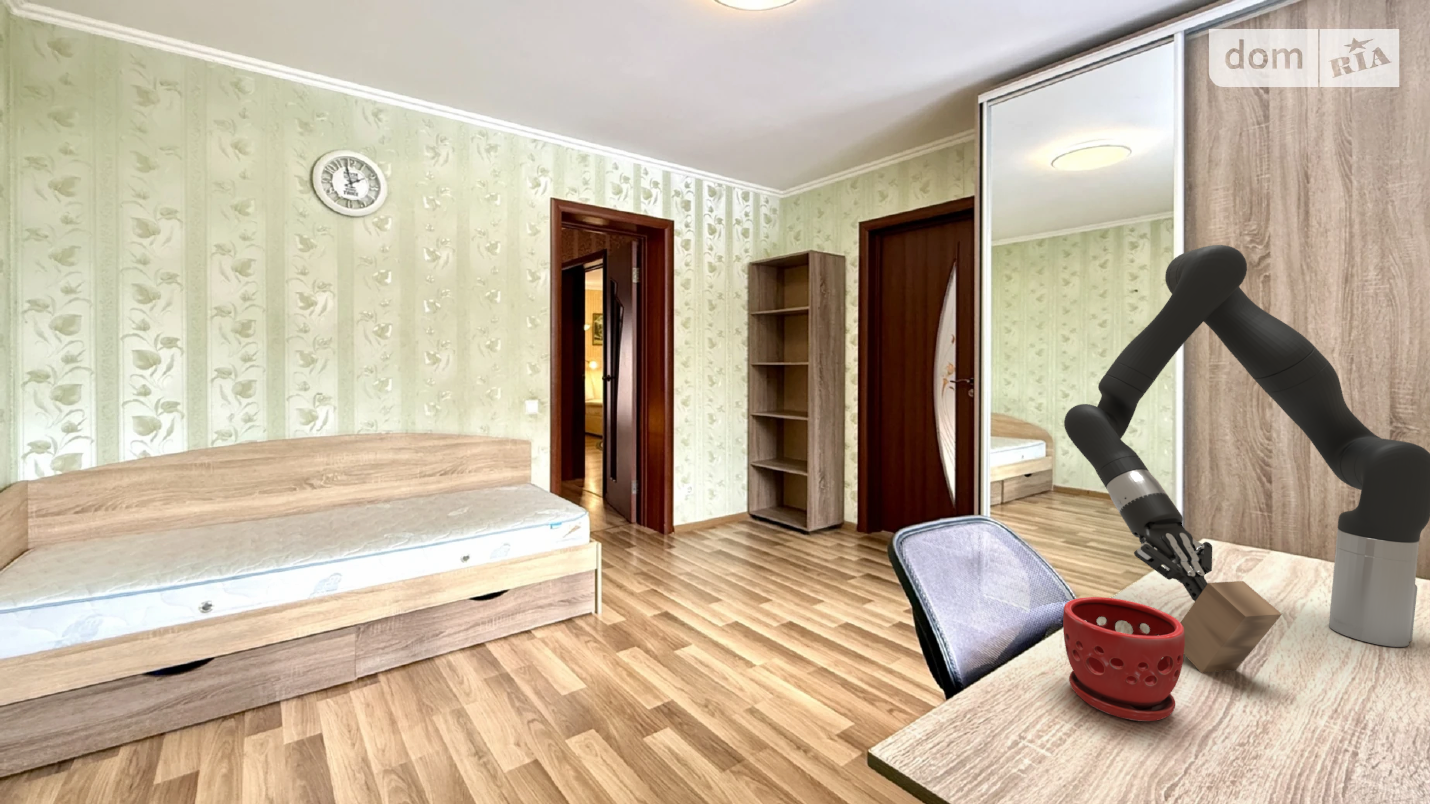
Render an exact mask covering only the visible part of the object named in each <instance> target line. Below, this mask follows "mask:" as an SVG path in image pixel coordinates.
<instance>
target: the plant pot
mask: <svg viewBox="0 0 1430 804" xmlns="http://www.w3.org/2000/svg"><path fill="white" fill-rule="evenodd" d="M1062 618H1063V622H1062V624H1063V625H1062V626H1063V628H1062V629H1063V638H1064V646H1065V651H1066V652H1065V653H1066V656H1067V659H1068V662H1069V665H1070V667H1071V669H1072V671H1071V672H1070V673H1069V675H1068V681H1069V684H1070V686H1071V688H1072V690H1073V691H1074V693H1076V695H1078V697H1079V698H1080V699H1082V700H1083V701H1084V702H1085V703H1087V704H1088V705H1089V706H1091V707H1093V708H1095V710H1096V709H1097V710H1099V711H1100V712H1103V713H1106V714H1108V715H1110V716H1111V715H1112V716H1114V717H1117V718H1120V719H1121V718H1122V719H1126V720H1131V721H1132V722H1155V721H1159V720H1162V719H1166V718H1167V717H1169V716H1171V714H1173V712H1174V710H1175V708H1176V699H1175V698H1174V696H1173V695H1172V692H1173V690H1174V689H1175V687H1176V685H1177V683H1178V681H1179V679H1180V676H1181V672H1182V667H1183V663H1184V647H1185V634H1184V627H1183V626H1182V624H1181V623H1180V622H1181V621H1180V620H1178V619H1177V618H1175V617H1174V616H1172V615H1171V614H1168V613H1166V612H1164V611H1162V610H1159V609H1157V608H1155V607H1152V606H1149V605H1146V604H1142V603H1139V602H1135V601H1130V600H1125V599H1120V598H1112V597H1104V596H1103V597H1101V596H1089V597H1088V596H1087V597H1086V596H1085V597H1079V598H1075V599H1071V600H1069V601H1068V602H1066V603H1065V604H1064V606H1063V617H1062ZM1099 618H1103V619H1105V621H1106V622H1105V623H1104V624H1099V623H1098V619H1099ZM1121 621H1122V622H1126V623H1128V624H1129V626H1131V628H1132V633H1126V632H1125V633H1124V632H1120V631H1118V630H1117V629H1116V625H1117V623H1118V622H1121ZM1142 624H1145V625H1146V626H1148V628H1149V632H1148V633H1147V632H1144V631H1143V630H1142V628H1141V625H1142Z"/></svg>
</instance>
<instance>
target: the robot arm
mask: <svg viewBox="0 0 1430 804" xmlns="http://www.w3.org/2000/svg"><path fill="white" fill-rule="evenodd" d="M1165 270H1166V271H1165V276H1164V278H1165V284H1166V286H1167V289H1168V291H1169V292H1170V293H1171V295H1170V297H1169V298H1168V300H1167V301H1166V303H1165V304H1164V306H1163V307H1162V308H1161V310H1160V311H1159V312H1158V314H1157V315H1156V316H1155V317H1154V318H1153V319H1152V321H1150V322H1149V324H1148V325H1146V327H1144V328H1143V329H1142V331H1140V332H1139V333H1138V334H1137V335H1136V336H1135V337H1134V338H1133V339H1132V340H1131V341H1130V342H1129V343H1128V344H1127V346H1125V347H1124V348H1123V350H1122V351H1121V352H1120V353H1119V355H1118V356H1117V357H1116V358H1115V360H1114V361H1113V362H1112V364H1111V366H1110V367H1109V368H1108V369H1107V371H1106V373H1104V375H1103V377H1102V378H1101V380H1100V381H1099V383H1098V384H1097V385H1098V386H1097V387H1098V390H1099V393H1100V395H1101V398H1100V400H1099V402H1098V403H1097V405H1093V404H1088V403H1082V404H1077V405H1074V406H1073V407H1071V408H1070V409H1069V410H1068V411H1067V412H1066V414H1065V416H1064V419H1063V422H1064V424H1063V425H1064V430H1065V432H1066V435H1067V436H1068V438H1069V439H1070V441H1071V442H1072V443H1073V444H1074V446H1075V447H1076V448H1077V449H1078V451H1079V452H1080V454H1082V455H1083V457H1084V458H1085V459H1086V460H1087V461H1088V462H1089V463H1090V465H1091V466H1092V467H1093V468H1094V470H1095V472H1096V474H1097V475H1098V478H1099V479H1100V481H1101V482H1102V484H1103V485H1104V487H1105V489H1106V491H1107V492H1108V496H1109V497H1110V499H1111V501H1112V503H1113V505H1114V506H1115V508H1116V510H1117V511H1118V513H1119V514H1120V517H1122V519H1123V521H1124V522H1125V524H1126V526H1127V527H1128V528H1129V530H1130V532H1131V534H1132V536H1134V537H1136V538H1138V540H1139V543H1140V544H1141V545H1140V546H1139V548H1137V549H1136V550H1135V551H1133V554H1134V556H1135V557H1136V558H1137V559H1138V560H1140V561H1142V562H1143V563H1144V564H1146V565H1147V566H1149V567H1150V568H1151V569H1153V570H1154V571H1156V572H1157V573H1158V574H1160V575H1161V576H1162V577H1164V578H1165V579H1167V580H1169V581H1170V580H1172V579H1173V580H1176V581H1177V582H1179V583H1180V584H1182V586H1183V587H1184V588H1185V590H1186V592H1187V593H1188V594H1189V596H1190V598H1191V599H1192V600H1193V601H1194V602H1195V601H1196V600H1197V598H1198V597H1199V595H1200V594H1201V593H1202V591H1203V590H1204V588H1205V587H1206V586H1207V584H1208V583H1209V582H1208V581H1207V580H1206V579H1205V575H1207V574H1209V573H1211V572H1212V571H1213V545H1212V544H1211V542H1208V541H1204V542H1203V543H1201V542H1199V541H1197V540H1196V539H1193V538H1194V536H1193V535H1192V534H1191V533H1190V532H1189V531H1188V530H1186V528H1184V526H1183V520H1184V518H1183V515H1182V514H1181V512H1180V510H1179V509H1178V508H1177V506H1176V505H1175V504H1174V502H1173V501H1172V499H1171V497H1169V495H1168V494H1167V492H1166V490H1165V489H1164V488H1163V486H1162V485H1161V484H1160V482H1159V481H1158V480H1157V478H1156V477H1155V476H1154V475H1153V474H1152V473H1151V472H1150V470H1149V469H1148V467H1147V465H1145V463H1144V461H1143V460H1142V459H1141V457H1140V456H1139V455H1138V454H1137V452H1136V451H1135V450H1134V449H1133V448H1131V447H1130V446H1129V445H1127V444H1126V443H1125V442H1124V441H1123V440H1122V438H1123V437H1124V435H1125V433H1126V432H1127V429H1128V428H1129V425H1130V423H1131V422H1132V419H1133V417H1134V414H1135V412H1136V409H1137V407H1138V404H1139V401H1140V400H1141V399H1142V398H1143V397H1144V396H1145V394H1146V392H1148V391H1149V389H1150V388H1151V386H1152V384H1153V383H1155V381H1156V380H1157V378H1158V377H1159V375H1160V374H1161V373H1162V372H1163V370H1164V368H1166V367H1167V365H1168V363H1169V362H1170V361H1171V359H1172V358H1173V357H1174V355H1176V353H1177V352H1178V351H1179V350H1180V348H1181V347H1182V346H1183V345H1184V343H1186V341H1187V340H1188V339H1189V338H1190V337H1191V336H1192V335H1193V333H1195V331H1196V330H1197V329H1198V328H1199V327H1200V326H1201V325H1202V324H1203V323H1204V324H1206V326H1207V327H1208V328H1210V330H1211V331H1213V333H1214V334H1215V336H1217V337H1218V338H1219V340H1220V341H1221V342H1222V343H1223V345H1224V346H1225V347H1226V349H1227V350H1228V352H1230V353H1231V354H1232V355H1233V357H1234V358H1235V359H1236V360H1237V361H1238V362H1239V363H1240V364H1241V366H1242V367H1243V368H1244V369H1245V370H1246V372H1247V373H1248V374H1249V375H1250V377H1251V378H1252V379H1254V381H1255V382H1256V383H1257V384H1258V385H1259V387H1260V388H1261V389H1262V390H1263V391H1264V392H1265V393H1266V394H1267V395H1268V396H1269V398H1271V399H1272V400H1273V401H1274V402H1275V403H1276V404H1277V405H1278V407H1280V408H1281V409H1282V411H1283V412H1284V413H1285V414H1286V415H1287V416H1288V417H1289V418H1290V419H1291V421H1293V422H1294V424H1296V425H1297V426H1298V428H1300V430H1302V432H1303V433H1304V434H1305V435H1306V436H1307V438H1308V439H1309V440H1310V441H1311V444H1313V446H1314V448H1315V449H1316V450H1317V451H1318V453H1319V454H1320V456H1321V458H1323V460H1324V461H1325V463H1326V464H1327V466H1328V467H1329V469H1330V470H1331V472H1332V473H1333V474H1334V475H1335V476H1336V477H1337V478H1338V479H1339V480H1340V481H1342V482H1343V483H1345V484H1346V485H1347V486H1348V487H1349V486H1350V487H1352V488H1354V489H1357V490H1360V496H1359V501H1358V505H1357V506H1356V507H1355V508H1354V509H1352V510H1346V511H1344V512H1341V513H1340V514H1339V516H1338V519H1337V530H1336V531H1337V532H1336V541H1335V555H1334V565H1333V575H1332V585H1331V597H1330V598H1331V599H1330V608H1329V615H1328V616H1329V617H1328V627H1329V628H1330V629H1332V630H1333V631H1335V632H1337V633H1338V634H1341V635H1344V636H1346V637H1348V638H1352V639H1354V640H1358V641H1362V642H1365V643H1369V644H1374V645H1377V646H1385V647H1397V648H1404V647H1408V646H1409V645H1410V642H1412V641H1413V633H1414V627H1415V623H1414V622H1415V615H1416V613H1415V612H1416V608H1417V607H1416V606H1417V595H1418V586H1417V584H1416V581H1417V580H1416V579H1417V578H1416V577H1417V569H1418V556H1419V545H1420V539H1421V533H1422V532H1423V530H1424V529H1425V528H1426V526H1427V525H1428V523H1429V521H1430V452H1429V451H1428V450H1427V449H1426V448H1425V447H1422V446H1421V445H1419V444H1415V443H1412V442H1407V441H1403V440H1397V439H1389V438H1382V437H1380V436H1378V435H1377V434H1375V433H1374V432H1372V431H1371V430H1370V429H1369V428H1368V427H1367V426H1366V425H1365V424H1364V423H1362V422H1361V420H1359V418H1358V417H1357V416H1355V414H1353V412H1352V411H1351V410H1350V408H1349V407H1348V405H1347V403H1346V401H1345V399H1344V394H1343V391H1342V389H1343V388H1342V385H1341V381H1340V379H1339V376H1338V373H1337V371H1336V369H1335V368H1334V366H1333V365H1332V364H1331V363H1330V361H1329V360H1328V359H1327V358H1326V357H1325V356H1324V354H1322V353H1321V351H1319V350H1318V349H1317V347H1316V346H1315V345H1314V344H1313V343H1312V342H1311V341H1310V340H1309V339H1308V338H1307V337H1305V336H1304V335H1303V334H1302V333H1300V332H1299V331H1297V330H1296V329H1294V328H1293V327H1292V326H1290V325H1288V324H1287V323H1286V322H1284V321H1282V320H1280V319H1279V318H1277V317H1276V316H1274V315H1272V314H1271V313H1269V312H1267V311H1265V309H1263V308H1261V307H1259V306H1258V305H1257V304H1256V303H1255V302H1254V301H1253V300H1251V298H1250V297H1249V296H1248V295H1247V294H1246V293H1245V292H1244V291H1243V290H1242V289H1241V287H1240V286H1241V284H1243V282H1244V281H1245V278H1246V276H1247V272H1248V271H1247V270H1248V264H1247V260H1246V258H1245V256H1244V254H1243V253H1242V252H1240V250H1238V249H1237V248H1235V247H1233V246H1231V245H1225V244H1224V245H1223V244H1213V245H1207V246H1203V247H1199V248H1196V249H1191V250H1189V251H1186V252H1184V253H1180V254H1179V255H1178V256H1176V257H1175V258H1174V259H1173V260H1171V261H1170V263H1169V264H1168V265H1167V268H1166V269H1165Z"/></svg>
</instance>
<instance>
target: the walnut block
mask: <svg viewBox="0 0 1430 804" xmlns="http://www.w3.org/2000/svg"><path fill="white" fill-rule="evenodd" d="M1207 583H1208V584H1207V586H1206V587H1205V588H1204V590H1203V591H1202V593H1201V594H1200V595H1199V597H1198V598H1197V600H1196V601H1194V602H1193V604H1192V605H1191V607H1190V608H1189V609H1188V611H1187V612H1186V613H1185V615H1184V617H1183V618H1182V620H1181V621H1179V622H1180V623H1181V624H1182V626H1183V627H1184V634H1185V647H1184V655H1185V656H1186V658H1187V659H1188V660H1189V661H1190V662H1191V663H1192V665H1194V667H1195V668H1196V669H1197V670H1198V671H1199V673H1200V674H1203V673H1215V672H1217V673H1218V672H1227V671H1229V672H1230V671H1237V669H1238V668H1239V667H1240V666H1241V665H1242V664H1243V662H1244V661H1245V660H1246V658H1247V657H1248V656H1249V655H1250V654H1251V653H1252V651H1253V650H1254V649H1255V648H1256V647H1257V645H1259V643H1260V642H1261V641H1262V639H1264V637H1265V636H1266V634H1267V633H1268V632H1269V631H1270V630H1271V628H1272V627H1273V626H1274V625H1275V624H1276V622H1277V621H1278V620H1279V619H1280V617H1281V616H1282V615H1283V613H1281V612H1280V611H1279V610H1278V609H1277V608H1276V607H1275V606H1273V605H1272V604H1271V603H1269V602H1268V601H1267V600H1266V599H1265V598H1264V597H1262V596H1261V595H1260V594H1259V593H1258V592H1257V591H1256V590H1254V589H1253V588H1252V587H1251V586H1250V585H1249V584H1248V583H1246V581H1244V580H1238V581H1237V580H1236V581H1218V582H1216V581H1215V582H1207ZM1184 655H1183V656H1184Z"/></svg>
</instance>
